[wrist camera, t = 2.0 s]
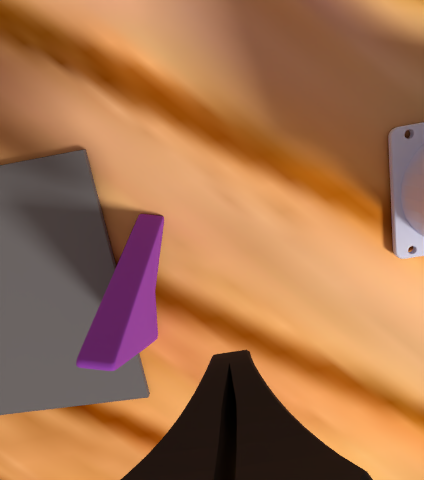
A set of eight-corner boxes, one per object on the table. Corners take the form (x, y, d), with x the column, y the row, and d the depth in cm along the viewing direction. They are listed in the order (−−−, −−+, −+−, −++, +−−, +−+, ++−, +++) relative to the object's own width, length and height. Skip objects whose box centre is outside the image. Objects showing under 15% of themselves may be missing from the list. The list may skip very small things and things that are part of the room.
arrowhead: (151, 257, 27) (128, 175, 18) (171, 259, 27) (158, 178, 18) (123, 391, 22) (73, 366, 13) (147, 394, 22) (113, 370, 13)
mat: (85, 149, 20) (82, 149, 20) (149, 393, 25) (148, 397, 25) (-117, 188, 22) (-123, 188, 21) (-22, 414, 26) (-26, 418, 26)
